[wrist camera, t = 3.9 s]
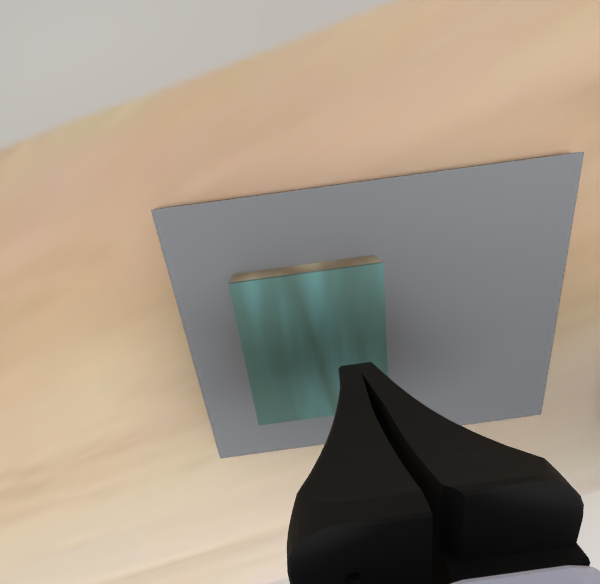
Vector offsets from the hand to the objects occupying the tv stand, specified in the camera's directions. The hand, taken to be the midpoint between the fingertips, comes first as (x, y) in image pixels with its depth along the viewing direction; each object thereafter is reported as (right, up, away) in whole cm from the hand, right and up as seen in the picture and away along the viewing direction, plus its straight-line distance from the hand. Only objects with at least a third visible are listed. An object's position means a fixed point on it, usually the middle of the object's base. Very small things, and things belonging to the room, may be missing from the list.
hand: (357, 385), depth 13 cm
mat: (+2, +2, +5) cm, 6 cm away
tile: (+2, +2, +4) cm, 4 cm away
